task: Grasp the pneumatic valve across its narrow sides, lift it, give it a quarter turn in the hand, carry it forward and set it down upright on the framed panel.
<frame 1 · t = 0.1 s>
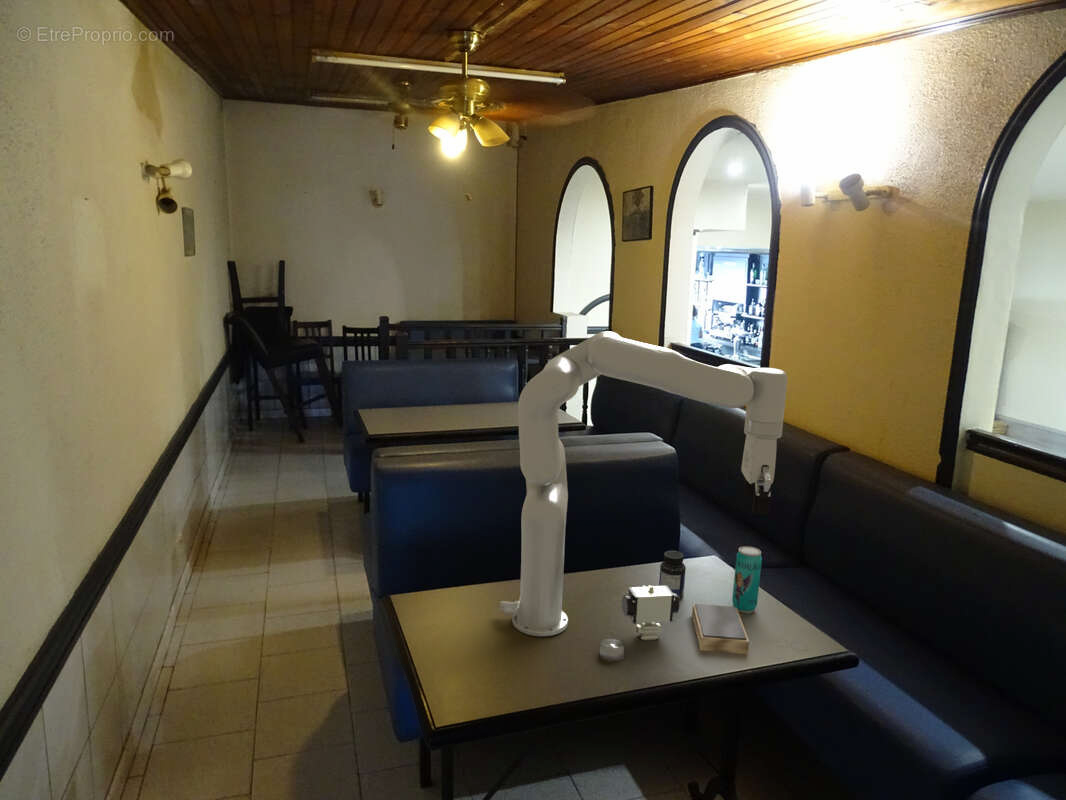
hand: (755, 505, 156), 31 cm above the table, tool pointing down, fingers open, 9 cm apart
framed panel: (718, 634, 164), on the table
beverage can: (743, 609, 176), on the table
pill bottle: (670, 596, 181), on the table
pneumatic valve: (647, 636, 162), on the table
steel spacer: (611, 655, 154), on the table
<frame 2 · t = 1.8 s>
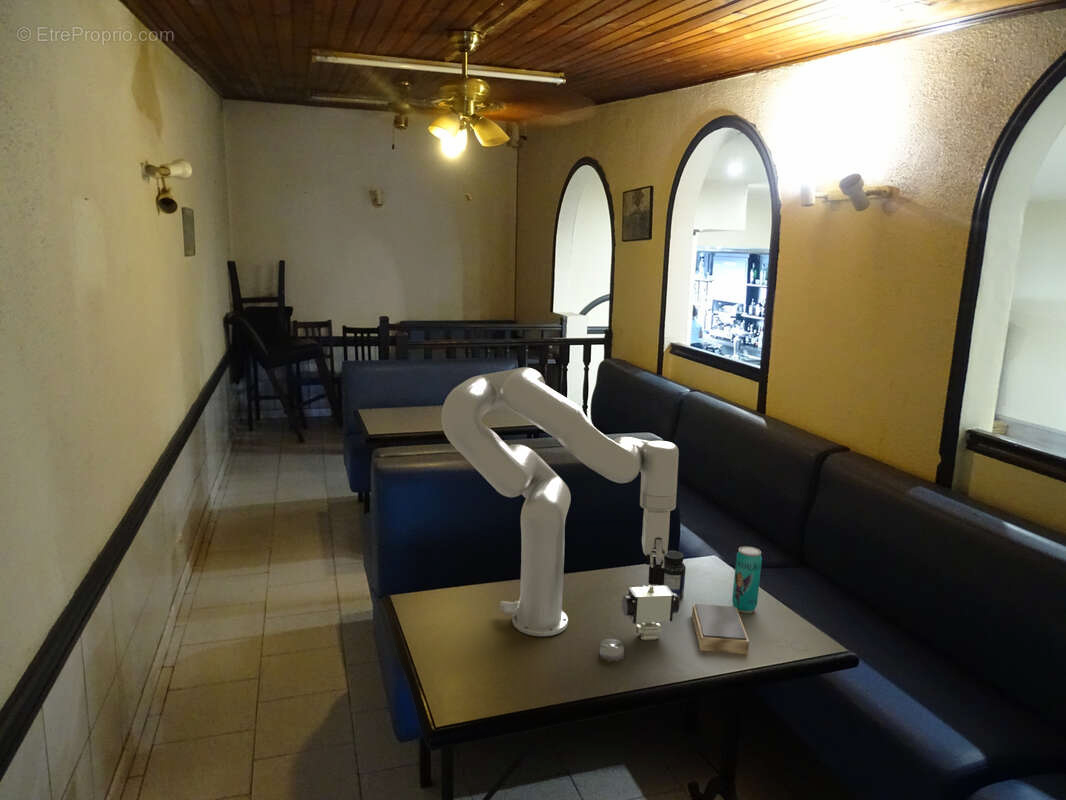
hand: (654, 574, 159), 15 cm above the table, tool pointing down, fingers open, 9 cm apart
nothing on the table moved.
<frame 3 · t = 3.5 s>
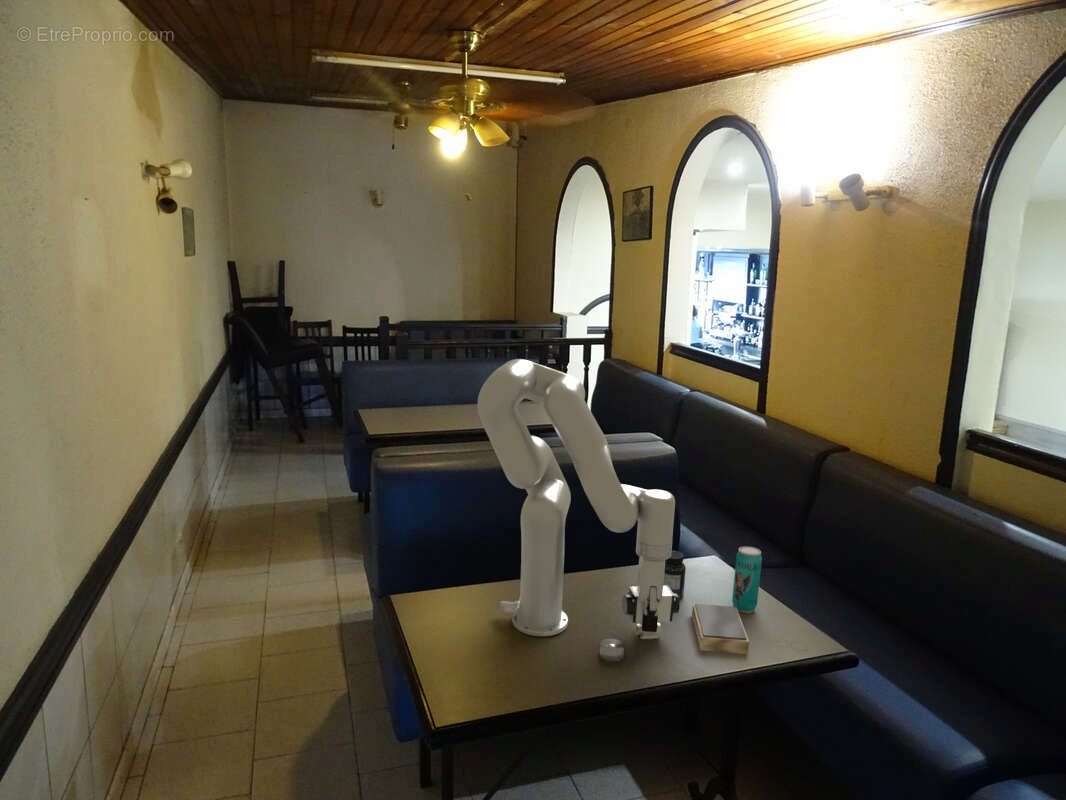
hand: (648, 623, 162), 3 cm above the table, tool pointing down, fingers closed on pneumatic valve, 5 cm apart
pneumatic valve: (647, 635, 163), on the table, touching gripper
everything else where it was.
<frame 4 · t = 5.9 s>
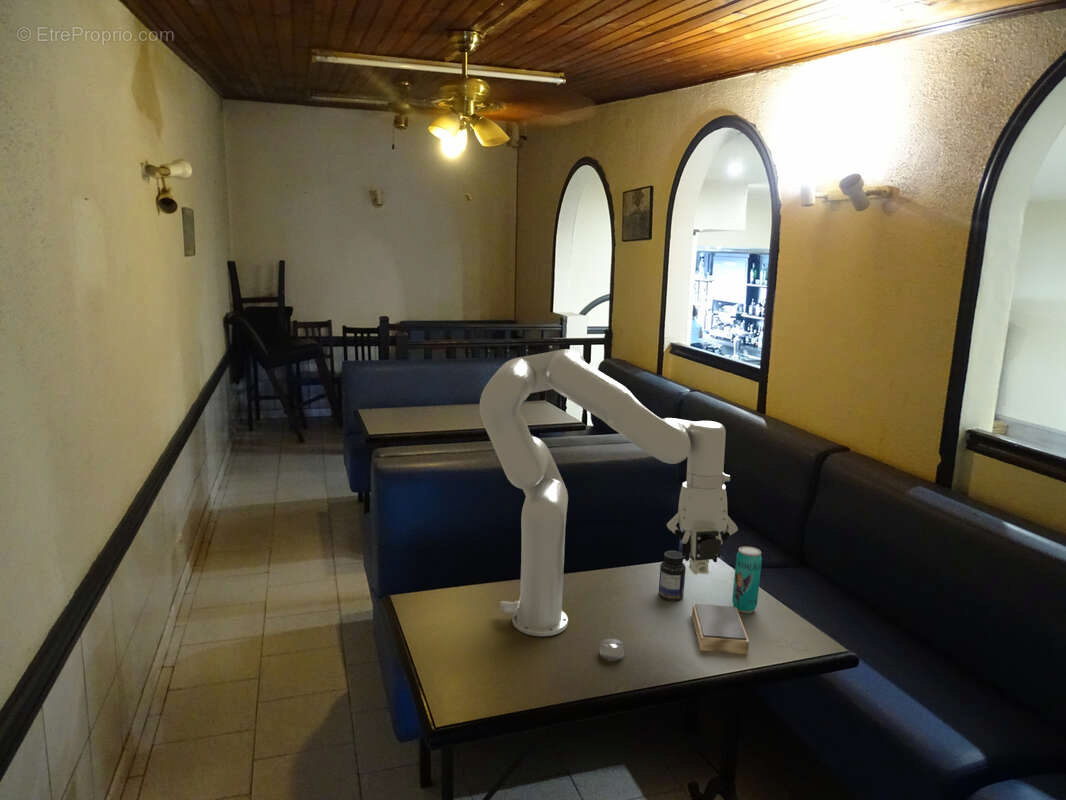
hand: (700, 558, 159), 18 cm above the table, tool pointing down, fingers closed on pneumatic valve, 5 cm apart
pneumatic valve: (700, 571, 160), point 15 cm above the table, touching gripper
everything else where it was.
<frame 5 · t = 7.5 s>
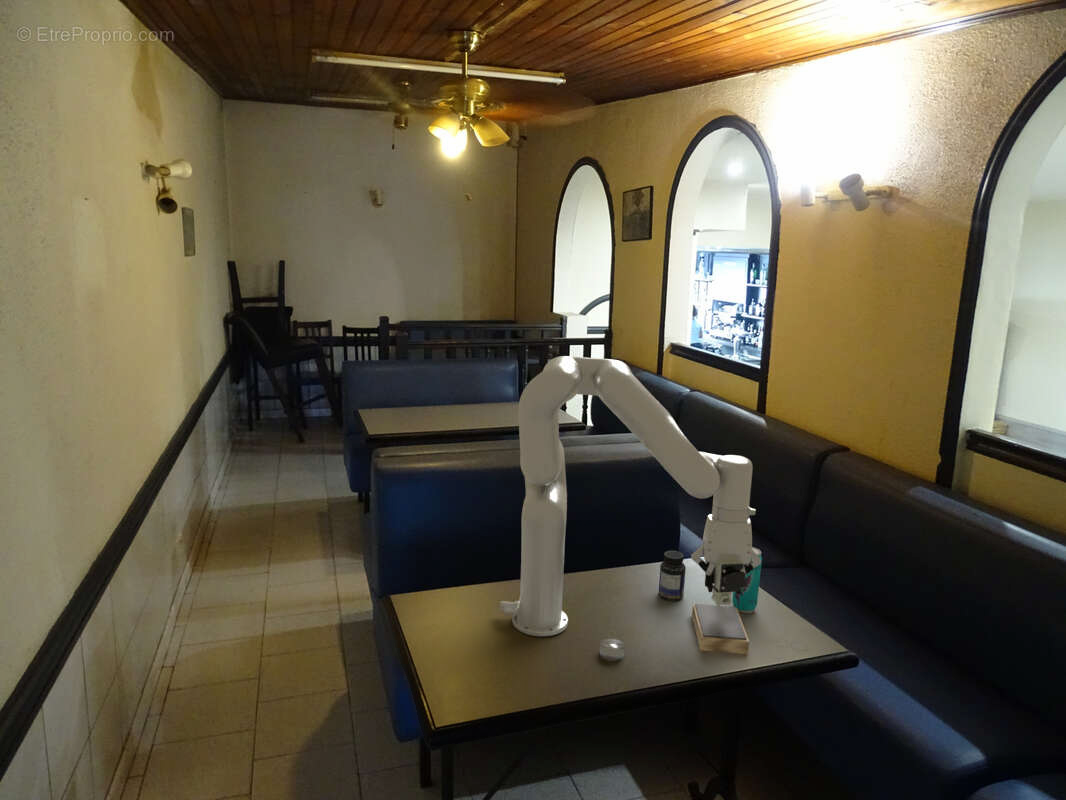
hand: (723, 589, 162), 11 cm above the table, tool pointing down, fingers closed on pneumatic valve, 5 cm apart
pneumatic valve: (723, 602, 162), point 8 cm above the table, touching gripper
everything else where it was.
when the fingers open (7 cm above the table, at t = 8.5 s): pneumatic valve stays where it is, resting on framed panel.
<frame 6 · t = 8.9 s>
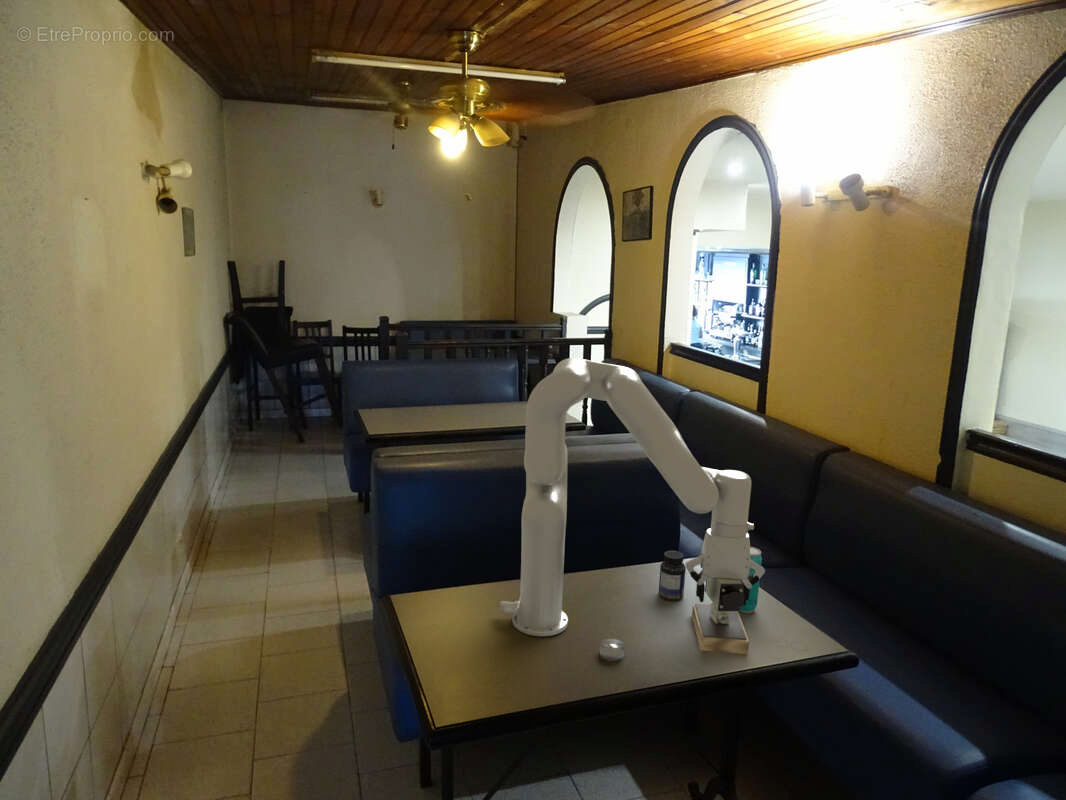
hand: (721, 600, 162), 8 cm above the table, tool pointing down, fingers open, 8 cm apart
pneumatic valve: (721, 621, 163), point 3 cm above the table, touching framed panel
everything else where it was.
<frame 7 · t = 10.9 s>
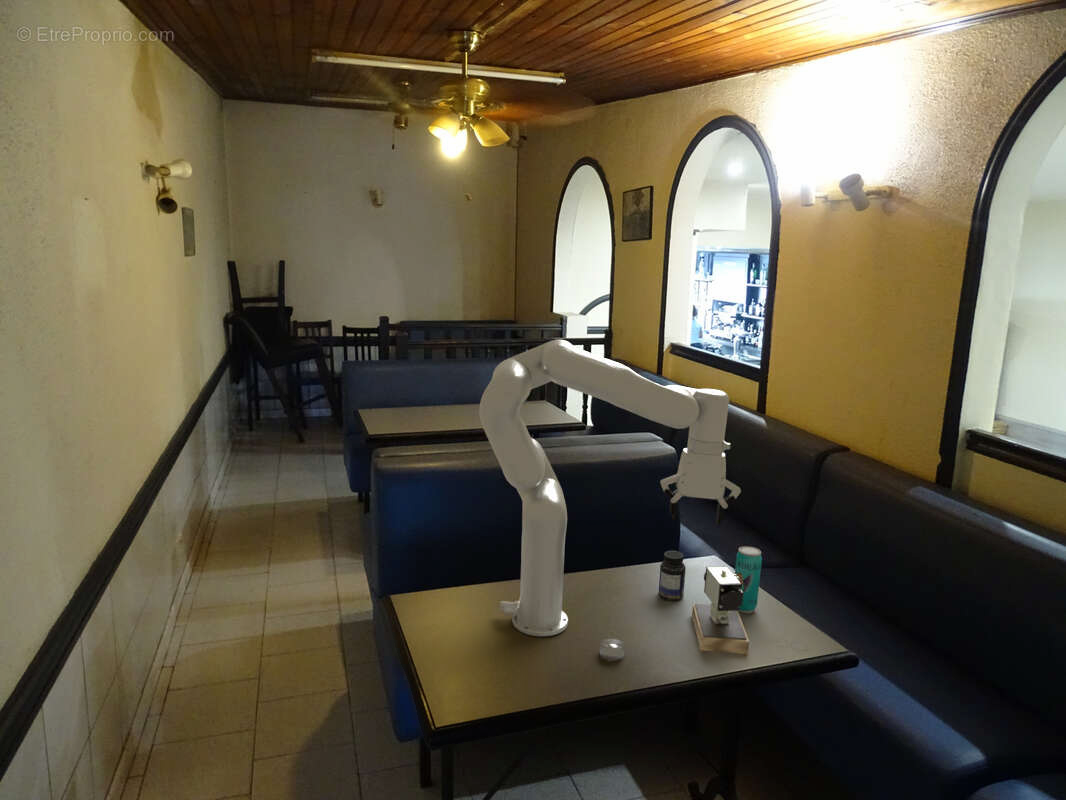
hand: (696, 520, 162), 25 cm above the table, tool pointing down, fingers open, 9 cm apart
nothing on the table moved.
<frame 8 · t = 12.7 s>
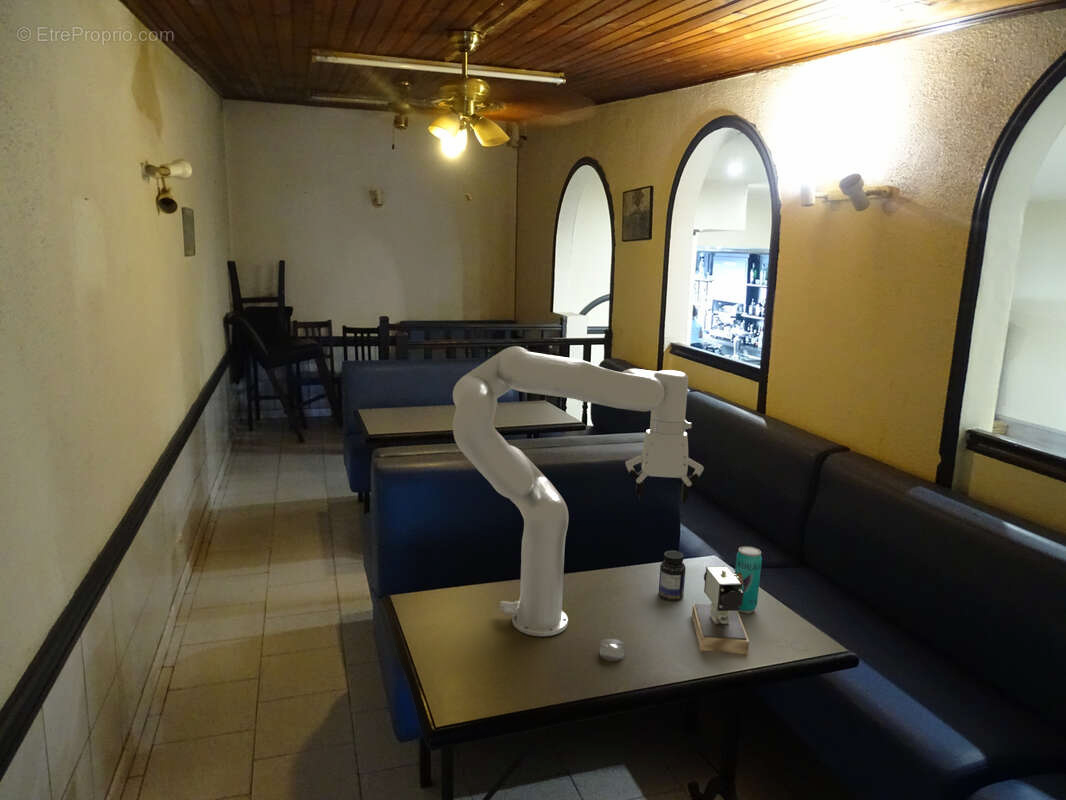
hand: (661, 499, 166), 28 cm above the table, tool pointing down, fingers open, 9 cm apart
nothing on the table moved.
at the end: pneumatic valve inside the target area on the framed panel (0.3 cm from its centre), point 3.2 cm above the framed panel's base; pneumatic valve touching framed panel; pneumatic valve tilted 0° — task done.
